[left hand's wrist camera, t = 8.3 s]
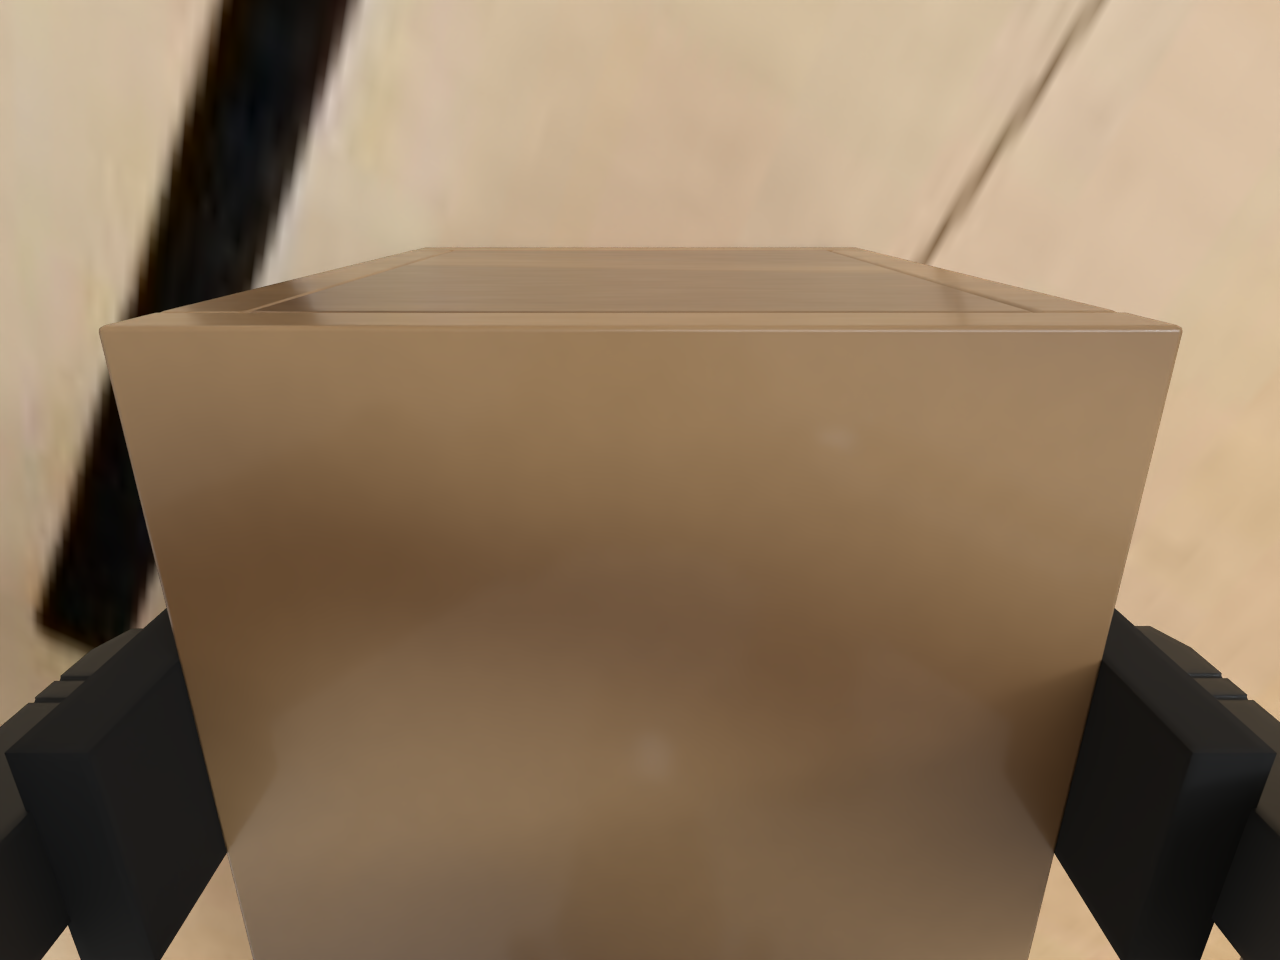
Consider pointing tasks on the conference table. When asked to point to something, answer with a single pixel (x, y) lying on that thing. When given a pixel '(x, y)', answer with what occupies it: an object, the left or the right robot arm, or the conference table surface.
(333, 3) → the conference table surface
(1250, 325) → the conference table surface
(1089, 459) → the cabinet
